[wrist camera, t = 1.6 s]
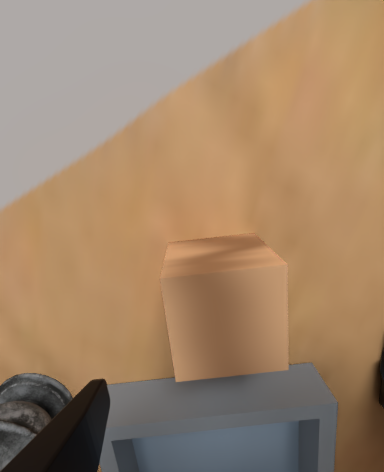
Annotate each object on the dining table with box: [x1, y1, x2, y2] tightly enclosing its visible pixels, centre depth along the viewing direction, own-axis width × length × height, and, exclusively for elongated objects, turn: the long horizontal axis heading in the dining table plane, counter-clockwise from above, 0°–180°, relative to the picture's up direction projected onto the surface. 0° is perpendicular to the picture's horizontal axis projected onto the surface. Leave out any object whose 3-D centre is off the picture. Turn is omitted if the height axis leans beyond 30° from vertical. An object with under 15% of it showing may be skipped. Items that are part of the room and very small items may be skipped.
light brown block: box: [160, 233, 289, 382], centre depth 13 cm, size 5×5×5 cm
